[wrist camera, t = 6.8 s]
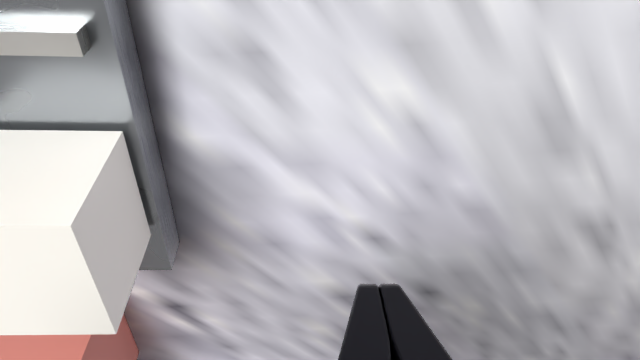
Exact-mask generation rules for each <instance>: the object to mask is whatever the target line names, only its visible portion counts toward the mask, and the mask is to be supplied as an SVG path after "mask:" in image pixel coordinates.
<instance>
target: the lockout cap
mask: <svg viewBox="0 0 640 360" xmlns="http://www.w3.org/2000/svg"><path fill="white" fill-rule="evenodd" d="M138 354H139V350H138V348H137V346H136V343H135V341H134V338H133V336H132V333H131V331H130V328H129V326H128V323H127V321H126V318H125V316H124V314H123V316H122V319H121V322H120V325H119V328H118V331H117V334H92V335H0V360H137V357H138Z"/></svg>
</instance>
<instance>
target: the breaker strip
mask: <svg viewBox="0 0 640 360" xmlns="http://www.w3.org/2000/svg"><path fill="white" fill-rule="evenodd" d="M0 130H58V131H123V135H124V138H125V142H126V146H127V149H128V153H129V157H130V160H131V164H132V167H133V171H134V175H135V178H136V182H137V186H138V189H139V193H140V196H141V200H142V204H143V207H144V211H145V215H146V218H147V222H148V226H149V229H150V233H151V237H150V239H149V242H148V245H147V248H146V251H145V254H144V257H143V259H142V262H141V265H140V268H139V270H172V267H173V263H174V260H175V256H176V252H177V249H178V245H179V237H178V233H177V228H176V224H175V219H174V215H173V210H172V206H171V201H170V197H169V193H168V188H167V184H166V179H165V175H164V170H163V166H162V161H161V157H160V152H159V148H158V143H157V139H156V134H155V130H154V125H153V121H152V117H151V112H150V108H149V103H148V99H147V94H146V90H145V85H144V81H143V76H142V72H141V67H140V63H139V58H138V54H137V49H136V45H135V41H134V36H133V32H132V27H131V23H130V18H129V14H128V9H127V5H126V0H0Z"/></svg>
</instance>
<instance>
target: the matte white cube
mask: <svg viewBox="0 0 640 360" xmlns="http://www.w3.org/2000/svg"><path fill="white" fill-rule="evenodd" d="M150 237H151V233H150V229H149V226H148V222H147V218H146V215H145V211H144V207H143V204H142V200H141V196H140V193H139V189H138V186H137V182H136V178H135V175H134V171H133V167H132V164H131V160H130V157H129V153H128V149H127V146H126V142H125V138H124V135H123V131H58V130H0V335H92V334H117V331H118V328H119V325H120V322H121V319H122V316H123V314H124V311H125V308H126V305H127V302H128V299H129V296H130V294H131V291H132V288H133V285H134V282H135V279H136V276H137V274H138V271H139V268H140V265H141V262H142V259H143V257H144V254H145V251H146V248H147V245H148V242H149V239H150Z"/></svg>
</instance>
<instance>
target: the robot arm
mask: <svg viewBox="0 0 640 360" xmlns="http://www.w3.org/2000/svg"><path fill="white" fill-rule="evenodd" d="M338 360H452V359H451V357H450V356H449V355H448V353H447V352H446V350H445V349H444V347H443V346H442V345H441V343H440V342H439V340H438V339H437V338H436V336H435V335H434V333H433V332H432V330H431V329H430V328H429V326H428V325H427V323H426V322H425V321H424V319H423V318H422V316H421V315H420V314H419V312H418V311H417V309H416V308H415V306H414V305H413V304H412V302H411V301H410V299H409V298H408V297H407V295H406V294H405V292H404V291H403V290H402V288H401V287H400V286H399V285H397V284H380V285H379V286H377V285H376V284H360V285H359V286H358V287H357V291H356V295H355V298H354V302H353V306H352V310H351V313H350V317H349V321H348V325H347V328H346V332H345V336H344V340H343V343H342V347H341V351H340V355H339V358H338Z"/></svg>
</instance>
